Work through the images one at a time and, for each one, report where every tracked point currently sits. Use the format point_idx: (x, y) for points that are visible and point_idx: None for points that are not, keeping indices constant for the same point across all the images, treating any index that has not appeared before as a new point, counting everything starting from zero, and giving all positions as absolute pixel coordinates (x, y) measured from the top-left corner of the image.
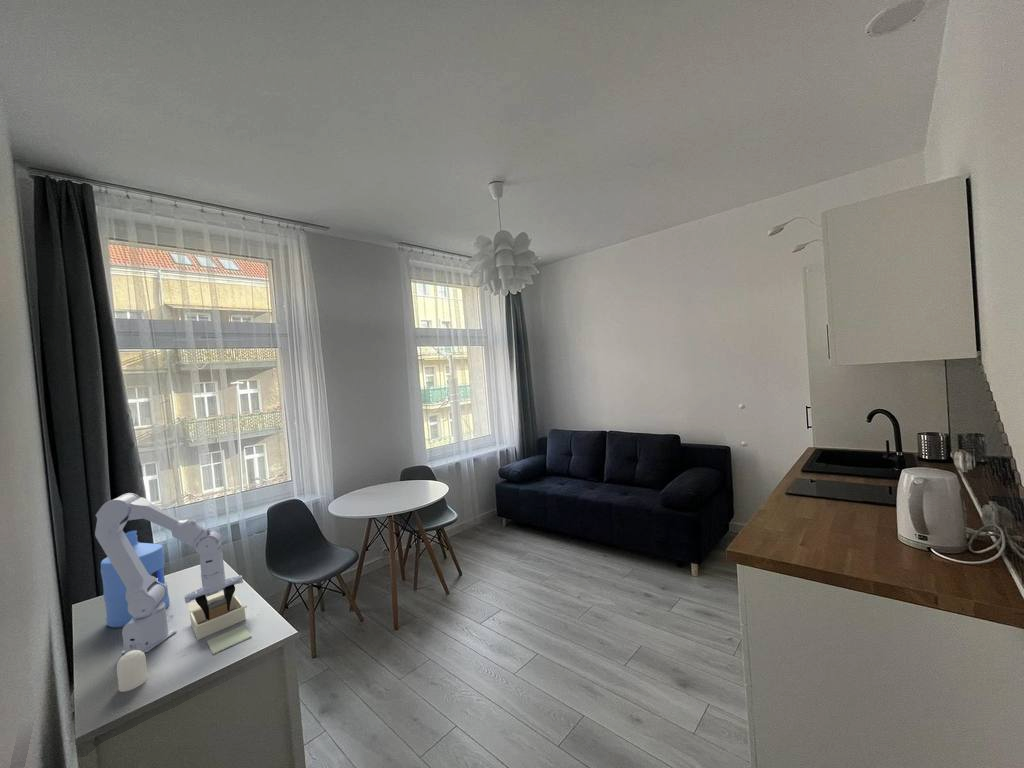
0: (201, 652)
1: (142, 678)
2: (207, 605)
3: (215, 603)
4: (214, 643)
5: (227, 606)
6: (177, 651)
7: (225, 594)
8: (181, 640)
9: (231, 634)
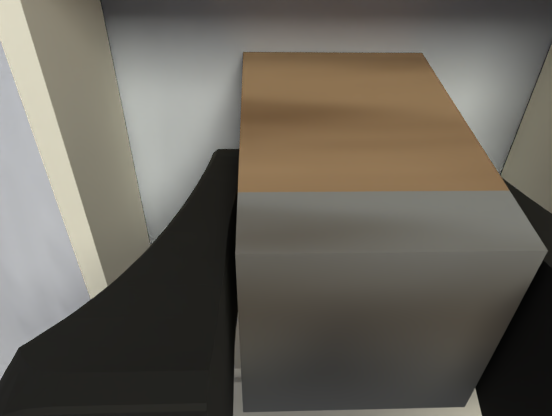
0: None
1: None
2: (232, 411)
3: (329, 405)
4: None
5: None
6: (21, 308)
7: (518, 408)
8: (10, 181)
9: None
